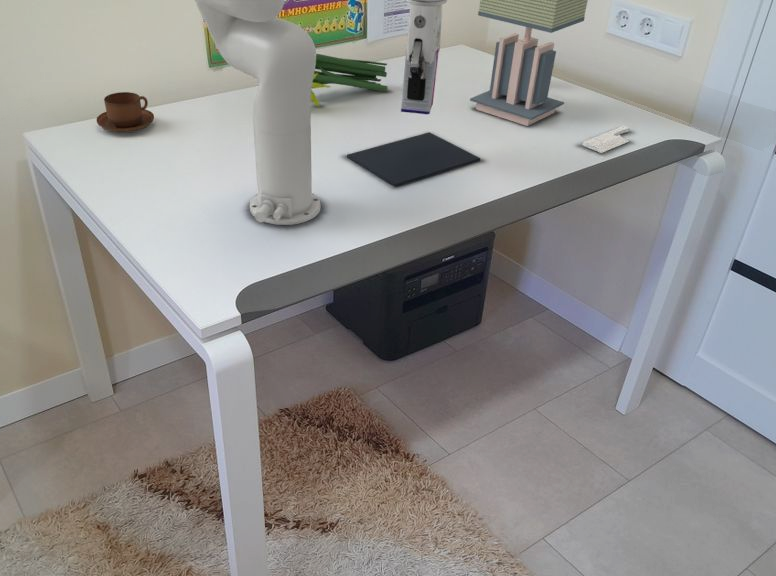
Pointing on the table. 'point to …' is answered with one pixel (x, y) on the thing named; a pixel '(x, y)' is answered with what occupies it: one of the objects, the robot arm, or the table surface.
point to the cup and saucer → (125, 113)
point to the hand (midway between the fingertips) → (418, 92)
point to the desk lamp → (525, 58)
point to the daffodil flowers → (355, 69)
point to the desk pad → (412, 158)
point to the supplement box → (430, 77)
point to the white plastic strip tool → (607, 140)
